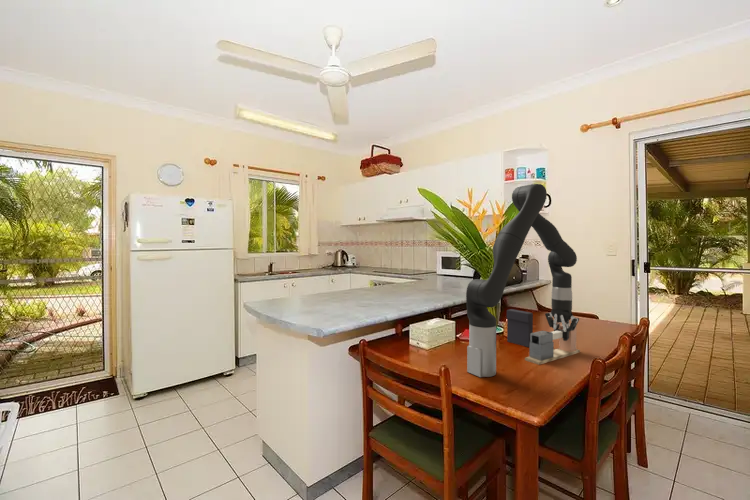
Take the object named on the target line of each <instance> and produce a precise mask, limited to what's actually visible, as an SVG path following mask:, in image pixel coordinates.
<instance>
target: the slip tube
mask: <svg viewBox="0 0 750 500" xmlns="http://www.w3.org/2000/svg"><path fill="white" fill-rule="evenodd" d="M550 332H551V333H553V341H555V340H559V338H563V332H564V330H563V329H557V330H556V331H554V330H553V331H550Z"/></svg>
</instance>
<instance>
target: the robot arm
mask: <svg viewBox="0 0 750 500" xmlns="http://www.w3.org/2000/svg"><path fill="white" fill-rule="evenodd" d="M547 197H548V193H547V188H546V187H545V185H543V184H541V183H532V184H527V185H521V186H517V187H516V188H514V189H513V191H512V193H511V201H512V204H513V205H514V207H515V209H516V210H517V211H518V213H517V214H516V215H515V216H514V217H513V218H512V219H511V220H510V221H508V222H507V224H505V225H504V226H503V227H502V228H501V229H500V231H499V232H498V234H497V236H496V239H495V241H494V243H493V246H492V256H493V267H492V270H491V273H490V275H489V277H488V279H481V278H476V279H475V278H474V279H472V280H471V281H469V283H468V284H467V287H466V293H465V296H466V297H465V299H466V300H465V301H466V315H467V318H468V320H469V323H468V325H469V327H468V328H469V330H468V336H469V337H468V338H469V341H468V342H469V343H468V345H467V347H466V351H467V352H466V355H467V356H466V357H467V358H466V362H467V363H466V367H467V369H466V372H467V373H469V374H472V375H474V376H477V377H478V378H485V377H487V378H489V377H490V378H491V377H493V376H496V374H497V318H496V316H495V315H494V314H492V313H491V312H490V310H489V309H488V308H494V307H496V306H497V304H499V302H500V301H501V299H502V297H503V294H504V291H505V288H506V286H507V282H508V280H509V277H510V273H511V271H512V269H513V266H514V264H515V262H516V260H517V258H518V255H519V253H520V251H521V250H522V247H523V245H524V243H525V240H526V238H527V236H528V234H529V231H530V230H531V228H532V229H533V230H534V231H535V232H536V234H537V237H539V239H540V240H541V243H542V244H543V246H544V247H545V249H546V250H547V251H549V253H548V257H547V263H548V266H549V268H550V269H549V270H550V273H551V277H552V283H551V284H552V287H551V311H550V312H545V313H544V316H545V318H546V321H547V323H548V326H549V327H550V328H552V329H553V331H556V330H557V329H559V327H560V325H562V326H563V330H564V332H563V340H564V341H567V340H568V339H569V331H573V330H574V329H575V327H576V328H577V325H578V323H579V322H580V318H579V317H575V316H574V315H573V312H572V311H573V288H572V286H573V285H572V284H573V283H572V274H571V273H569V272H566V271H564V270H563V268H571V267H574V266H575V265H576V264H577V261H578V258H577V254H576V251H575V249H573V248H572V247H571V246H570V245H569V244H568V243H567V242H566V241H565V240H564V239H563V237H562V236H561V234H560V232H559V230H558V228H557V227H556V226H555V225H554V224H553V223H552V222H551V221H549V220H548V219H547V218H546V217H544V216H543V215H541V213H540V212H541V210H542V209H543V207H544V206H545V203H546V200H547ZM569 325H570V326H569Z"/></svg>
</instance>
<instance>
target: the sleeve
mask: <svg viewBox="0 0 750 500" xmlns="http://www.w3.org/2000/svg"><path fill="white" fill-rule="evenodd" d="M551 332H552V331H546V330H540V331H535V332H534V331H533V333H530V345H529V347H528V348H529V356H528V357H530V358H534V359H537V360H540V361H542V360H546V359H549V358H552V357H553V354H554V350H555V348H554V343H555V342H554V340H553V333H551Z"/></svg>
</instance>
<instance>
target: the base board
mask: <svg viewBox="0 0 750 500" xmlns="http://www.w3.org/2000/svg"><path fill="white" fill-rule="evenodd" d="M578 353H581V350H580V349H579V348H576V351H573V352H569V351H565V350H561V349H559V347H558V348H554V354H553V357H552V358H549V359H546V360H542V361H540V360H537V359H534V358H530V357H529V356H527V357H524V361H527V362H529V363H532V364H535V365H538V366H540V365H543V364H546V363H549V362H552V361H556V360H559V359H563V358H566V357H569V356H570V357H571V356H573V355H576V354H578Z"/></svg>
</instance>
